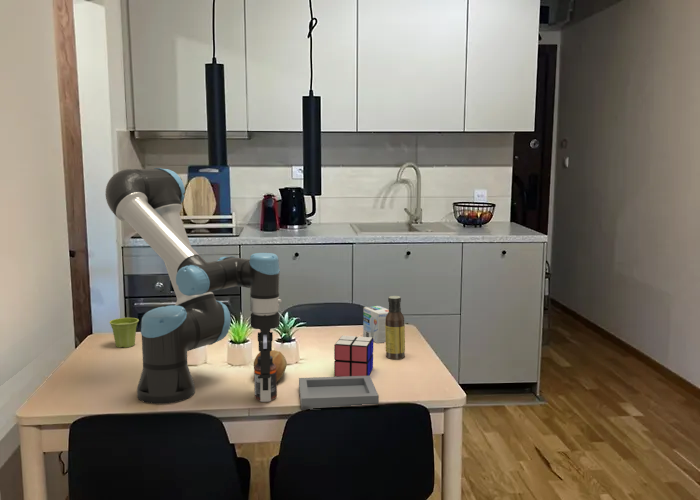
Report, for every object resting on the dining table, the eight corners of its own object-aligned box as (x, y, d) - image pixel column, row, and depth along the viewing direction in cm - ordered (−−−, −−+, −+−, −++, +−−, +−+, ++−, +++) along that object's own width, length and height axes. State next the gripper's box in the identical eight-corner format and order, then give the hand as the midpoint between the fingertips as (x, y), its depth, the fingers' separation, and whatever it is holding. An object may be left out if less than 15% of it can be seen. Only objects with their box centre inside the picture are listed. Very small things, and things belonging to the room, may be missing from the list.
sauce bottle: (399, 353, 221) (400, 294, 219) (408, 358, 216) (409, 297, 213) (381, 355, 219) (382, 295, 216) (390, 361, 213) (391, 299, 210)
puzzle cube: (367, 379, 196) (367, 346, 195) (334, 377, 198) (334, 344, 197) (373, 368, 206) (373, 337, 204) (341, 366, 208) (341, 335, 206)
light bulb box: (362, 336, 242) (362, 307, 240) (378, 334, 245) (378, 305, 243) (377, 343, 233) (377, 313, 231) (394, 341, 236) (394, 311, 234)
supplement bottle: (264, 392, 184) (264, 352, 183) (281, 396, 181) (281, 356, 179) (249, 398, 180) (249, 357, 178) (266, 403, 176) (266, 361, 175)
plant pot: (105, 345, 228) (104, 320, 227) (130, 340, 235) (129, 316, 234) (119, 351, 222) (118, 325, 221) (145, 345, 229) (144, 320, 228)
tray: (301, 409, 172) (301, 398, 172) (298, 388, 188) (298, 377, 188) (378, 406, 175) (378, 395, 174) (369, 385, 190) (369, 375, 190)
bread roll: (252, 387, 189) (252, 359, 188) (254, 370, 204) (254, 344, 203) (287, 386, 190) (286, 358, 189) (286, 369, 205) (286, 344, 204)
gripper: (279, 320, 168) (280, 409, 171) (278, 303, 187) (279, 383, 190) (249, 321, 167) (250, 410, 170) (251, 304, 186) (252, 384, 189)
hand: (265, 396), depth 180 cm, fingers closed on supplement bottle, 6 cm apart
